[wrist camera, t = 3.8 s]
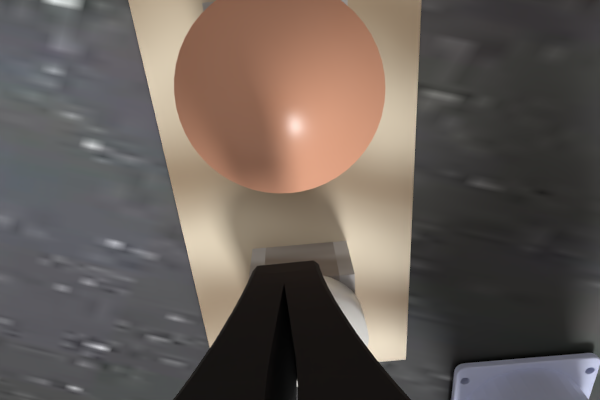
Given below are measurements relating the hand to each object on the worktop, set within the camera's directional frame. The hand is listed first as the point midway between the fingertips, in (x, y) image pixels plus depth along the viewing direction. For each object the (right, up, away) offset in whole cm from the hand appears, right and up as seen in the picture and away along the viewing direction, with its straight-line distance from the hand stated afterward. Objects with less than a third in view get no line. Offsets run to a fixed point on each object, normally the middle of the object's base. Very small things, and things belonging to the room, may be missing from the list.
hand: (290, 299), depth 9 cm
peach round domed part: (0, +6, +4) cm, 7 cm away
